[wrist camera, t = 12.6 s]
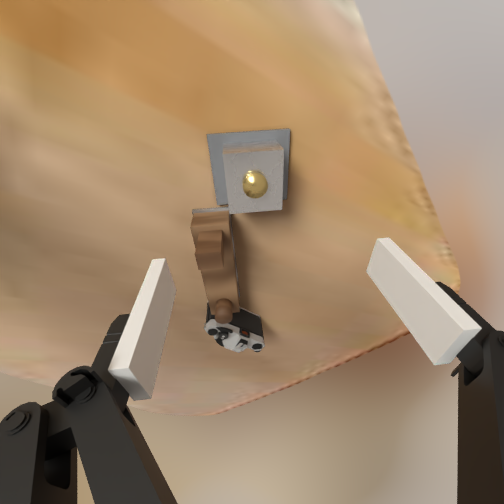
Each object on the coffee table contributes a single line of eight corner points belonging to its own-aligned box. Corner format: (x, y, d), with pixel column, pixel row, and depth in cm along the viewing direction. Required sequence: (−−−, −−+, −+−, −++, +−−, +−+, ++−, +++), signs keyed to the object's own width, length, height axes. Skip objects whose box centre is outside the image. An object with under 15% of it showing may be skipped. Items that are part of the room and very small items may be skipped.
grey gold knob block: (229, 197, 32) (229, 217, 28) (223, 143, 28) (222, 155, 24) (275, 193, 33) (283, 212, 28) (276, 139, 28) (285, 151, 24)
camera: (192, 315, 48) (189, 358, 41) (211, 292, 44) (212, 335, 37) (244, 329, 54) (249, 369, 47) (264, 310, 50) (273, 350, 43)
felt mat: (217, 203, 33) (217, 204, 33) (207, 134, 28) (206, 135, 28) (286, 197, 34) (286, 199, 33) (289, 128, 28) (290, 129, 28)
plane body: (239, 294, 45) (242, 338, 37) (212, 297, 45) (208, 341, 37) (229, 206, 34) (230, 243, 26) (192, 209, 34) (182, 247, 26)
